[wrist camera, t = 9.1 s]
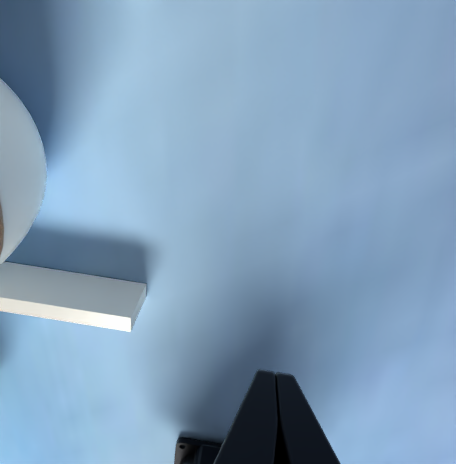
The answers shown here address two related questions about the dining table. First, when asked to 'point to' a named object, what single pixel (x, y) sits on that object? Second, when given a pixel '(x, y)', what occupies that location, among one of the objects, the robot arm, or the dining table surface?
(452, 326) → the dining table surface
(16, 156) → the lidded jar
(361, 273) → the dining table surface
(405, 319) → the dining table surface
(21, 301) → the box
